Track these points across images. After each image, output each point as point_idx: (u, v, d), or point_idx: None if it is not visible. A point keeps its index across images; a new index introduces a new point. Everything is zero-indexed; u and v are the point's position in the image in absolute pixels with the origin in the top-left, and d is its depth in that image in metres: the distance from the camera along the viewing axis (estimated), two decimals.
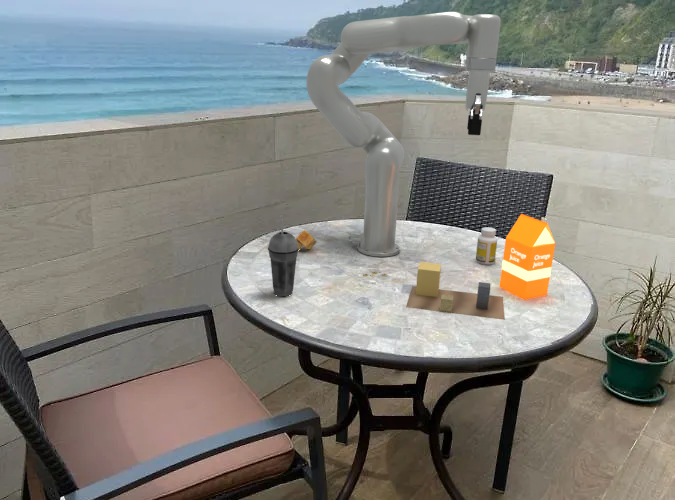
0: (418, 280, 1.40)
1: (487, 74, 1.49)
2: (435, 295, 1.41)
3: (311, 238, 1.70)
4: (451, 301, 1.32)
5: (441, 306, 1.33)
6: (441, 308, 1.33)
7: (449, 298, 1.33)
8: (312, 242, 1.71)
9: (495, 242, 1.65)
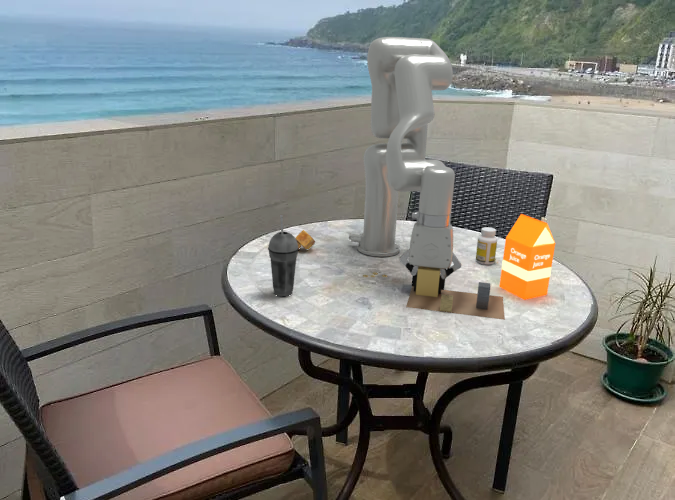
0: (418, 280, 1.40)
1: None
2: (435, 295, 1.41)
3: (310, 238, 1.69)
4: (451, 301, 1.32)
5: (441, 306, 1.33)
6: (441, 308, 1.33)
7: (449, 298, 1.33)
8: (311, 242, 1.71)
9: (495, 242, 1.65)
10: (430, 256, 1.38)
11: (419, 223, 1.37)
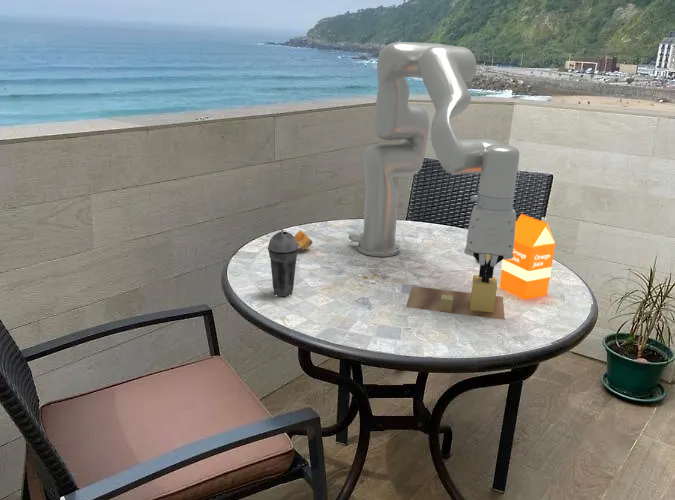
0: (473, 295, 1.33)
1: None
2: (491, 311, 1.33)
3: (307, 238, 1.69)
4: (451, 301, 1.32)
5: (441, 306, 1.33)
6: (441, 308, 1.33)
7: (449, 298, 1.33)
8: (308, 243, 1.70)
9: None
10: (491, 242, 1.28)
11: (479, 206, 1.27)
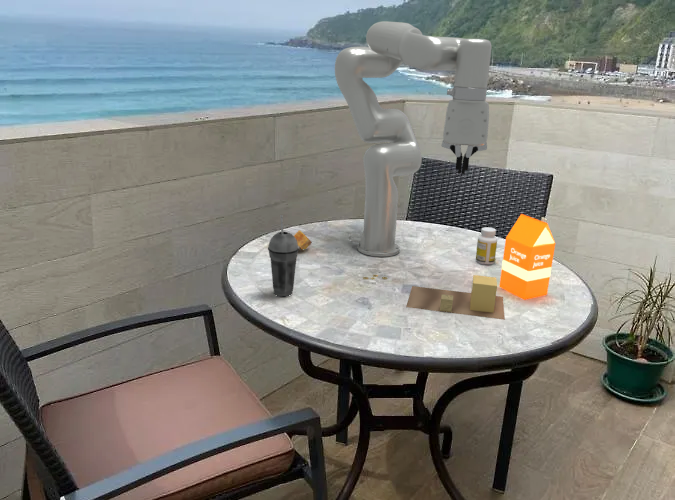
0: (473, 295, 1.33)
1: None
2: (491, 311, 1.33)
3: (306, 239, 1.69)
4: (451, 301, 1.32)
5: (441, 306, 1.33)
6: (441, 308, 1.33)
7: (449, 298, 1.33)
8: (307, 243, 1.70)
9: (495, 242, 1.65)
10: (465, 132, 1.37)
11: (455, 98, 1.36)
